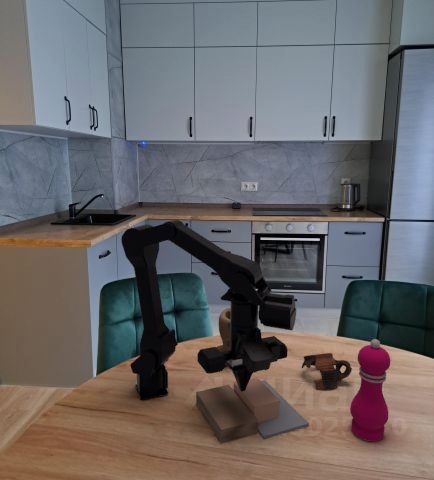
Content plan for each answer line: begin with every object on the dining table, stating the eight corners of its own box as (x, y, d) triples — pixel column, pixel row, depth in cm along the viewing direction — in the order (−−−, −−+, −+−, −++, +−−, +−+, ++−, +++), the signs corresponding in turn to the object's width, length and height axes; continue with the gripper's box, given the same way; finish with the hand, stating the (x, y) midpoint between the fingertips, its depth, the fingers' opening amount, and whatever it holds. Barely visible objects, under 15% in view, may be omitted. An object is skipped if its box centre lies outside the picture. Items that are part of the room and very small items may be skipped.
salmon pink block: (254, 406, 81) (279, 400, 83) (233, 382, 90) (257, 377, 92) (254, 424, 82) (279, 417, 84) (233, 398, 91) (256, 392, 93)
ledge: (221, 443, 77) (221, 429, 76) (196, 404, 90) (196, 391, 89) (257, 433, 80) (258, 419, 79) (228, 396, 93) (228, 384, 92)
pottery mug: (303, 391, 96) (297, 356, 99) (308, 389, 105) (302, 356, 107) (355, 386, 93) (347, 350, 95) (355, 384, 101) (348, 351, 104)
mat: (263, 439, 78) (263, 436, 78) (226, 391, 95) (226, 389, 94) (308, 425, 83) (309, 423, 82) (265, 382, 99) (265, 380, 99)
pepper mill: (382, 448, 76) (392, 351, 72) (344, 434, 80) (352, 341, 76) (389, 427, 82) (398, 337, 78) (353, 416, 86) (360, 329, 82)
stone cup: (219, 372, 103) (220, 318, 100) (210, 351, 115) (211, 302, 112) (274, 367, 106) (277, 314, 103) (261, 347, 118) (262, 299, 115)
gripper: (218, 345, 71) (217, 423, 74) (304, 329, 79) (300, 401, 82) (196, 322, 82) (196, 392, 84) (275, 310, 89) (272, 375, 92)
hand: (242, 390), depth 85 cm, fingers closed
